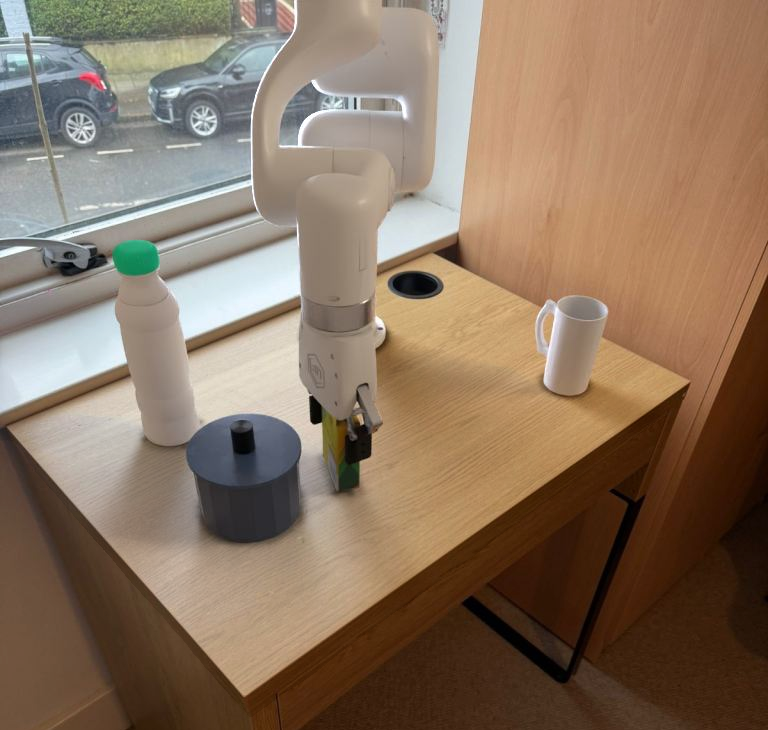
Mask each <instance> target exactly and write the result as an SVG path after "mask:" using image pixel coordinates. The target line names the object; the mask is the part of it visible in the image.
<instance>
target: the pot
mask: <svg viewBox="0 0 768 730" xmlns="http://www.w3.org/2000/svg"><path fill="white" fill-rule="evenodd" d="M192 473H193V472H192ZM193 478H194V479H193V480H194V483H195V489H196V495H197V499H198V504H199V509H200V514H201V515H202V519H203V522H204V524H205V526H206V527H207V528H208V529H209V530H210V531H211V532H212V533H213V534H214V535H216V536H218V537H220V538H221V539H224V540H226V541H231V542H234V543H245V544H248V543H258V542H259V543H260V542H264V541H267V540H271V539H274V538H276V537H277V536H280V535H282V534H284V533H285V532H286V531H287V530H289V529H290V528H291V527H292V526H293V525H294V524H295V523H296V522H297V519H298V517H299V516H300V513H301V508H302V493H301V491H302V490H301V477H300V460H299V461H298V463H297V465H296V466H295V467H294V468H293V470H292V471H290V472H289V473H288V474H287V475H286V476H284V477H283V478H281V479H279V480H277V481H275V482H273V483H271V484H268V485H265V486H262V487H257V488H251V489H226V488H221V487H217V486H213V485H211V484H208V483H206V482H204V481H202V480H201V479H199V478H198V477H197V476H196V475H195V474H194V473H193Z"/></svg>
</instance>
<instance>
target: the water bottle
mask: <svg viewBox="0 0 768 730" xmlns="http://www.w3.org/2000/svg"><path fill="white" fill-rule="evenodd" d="M112 262H113V265H114V268H115V270H116V272H117V274H118V275H119V276H120V277H121V282H120V285H119V288H118V294H117V297H116V300H115V304H114V315H115V319H116V321H117V322H118V324H119V330H120V337H121V341H122V347H123V351H124V355H125V360H126V363H127V366H128V371H129V375H130V377H131V381H132V384H133V386H134V390H135V392H134V393H135V400H136V405H137V407H138V409H139V412H140V421H141V425H142V429H143V433H144V436H145V437H146V439H147V440H148V441H150V442H151V443H153V444H155V445H157V446H161V447H175V446H180V445H183V444H186V443H187V442H188V443H189V441H190V439H191V438H192V436H193V435H194V434H195V433H196V432H197V431H198V430H199V429H201V424H200V418H199V417H200V416H199V413H198V409H197V406H196V397H195V396H196V395H195V390H194V386H193V383H192V381H191V372H190V363H189V357H188V351H187V350H188V349H187V344H186V341H185V340H186V339H185V334H184V331H183V327H182V323H181V319H180V317H179V316H180V305H179V302H178V300H177V298H176V296H175V295H174V294H173V292H172V291H171V290H170V288H169V287H168V285H167V284H166V282H165V280H163V279H162V278H161V277H160V276H159V273H158V272H159V271H160V268H161V265H160V263H161V262H160V254H159V250H158V248H157V247H156V245H155V244H154V243H153V242H150V241H148V240H145V239H144V240H143V239H130V240H125V241H123V242H120V243H119V244H117V245H116V246H115V247H113V250H112Z"/></svg>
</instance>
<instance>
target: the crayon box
mask: <svg viewBox="0 0 768 730" xmlns="http://www.w3.org/2000/svg"><path fill="white" fill-rule="evenodd" d="M321 408H322V423H321V432H322V435H321V436H322V457H323V459H324V462H325V464H326V467H327V470H328V472H329V475H330V478H331V480H332V483H333V485H334V488H335V491H336V492H342V491H348V490H353V489H357V488H359V487H360V479H361V478H360V477H361V476H360V475H361V474H360V470H361V466H360V465H361V461H359V462H357V463H354V464H351V465H348V464H347V463H346V462H345V436H346V435H348V431H347V428H346V424H345V421H344V420H337V419H336V418H334V417H333V416H332V415H330V414H329V413H328V412H327V410H326V409H325V408H324V407H323V406H322V405H321ZM352 417H353V421H354V425H355V428H356V427H358V426H360V425H361V422H360V419H359V418H358V415H355V416H352Z"/></svg>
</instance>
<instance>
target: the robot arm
mask: <svg viewBox="0 0 768 730" xmlns="http://www.w3.org/2000/svg"><path fill="white" fill-rule="evenodd" d="M439 75H440V42H439V34H438V30H437V26H436V23H435V21H434V19H433V17H432V16H431V15H430V13H428V12H426V11H425V10H423V9H419V8H415V7H404V6H403V7H401V6H383V0H294V28H293V32H292V33H291V35H290V37H289V38H288V39H287V41H286V42H285V43H284V44H283V45H282V47H281V48H280V49H279V50H278V52H277V53H276V54H275V55H274V57H273V58H272V60H271V62H270V63H269V64H268V66H267V68H266V70H265V71H264V74H263V76H262V78H261V80H260V82H259V85H258V87H257V90H256V93H255V97H254V100H253V105H252V111H251V121H250V153H251V154H250V155H251V157H250V158H251V159H250V160H251V162H250V163H251V187H252V196H253V202H254V206H255V208H256V212H257V213H258V214H259V217H261V219H262V220H264V221H265V222H266V223H268V224H270V225H273V226H276V227H287V228H296V234H297V235H296V237H297V253H298V254H297V255H298V274H299V275H298V276H299V291H300V293H299V294H300V317H299V327H298V375H299V379H300V382H301V384H302V385H303V386H304V387H305V389H306V390H307V393H308V395H309V396H308V405H309V422H310V423H311V424H312V425H313V426H315V425H319V424H322V408H321V405H322V406H323V407H324V408H325V409H326V410H327V412H328V413H329V414H330V415H332V416H333V417H334V418H336V419H337V420H344V421H345V424H346V428H347V431H348V435H346V436H345V462H346V463H347V464H348V465H351V464H354V463H357V462H359V461H360V462H361V461H364V460H367V459H370V458H371V457H372V452H373V451H372V449H373V434H375V433H376V432H378V431H379V429H380V428H381V427H382V426H383V424H384V421H383V420H384V419H383V418H382V416H381V414H380V411H379V409H378V407H377V405H376V401H377V390H378V377H377V376H378V375H377V356H376V355H377V353H376V349H377V348H379V347H380V346H381V345H382V344H383V343H384V341H385V339H386V335H387V334H386V331H387V328H386V325H385V323H384V321H383V320H382V319H381V318H380V317H378V316H377V287H378V286H377V284H378V282H377V281H378V280H377V279H378V244H379V243H378V239H379V238H378V236H379V228H380V227H381V226H382V224H383V222H384V220H385V219H386V217H387V215H388V212H391V211H392V209H393V206H394V202H395V194H396V193H405V194H406V193H417V192H420V191H423V190H424V189H426V188H428V186H429V184H430V183H431V181H432V177H433V174H434V168H435V160H436V159H435V158H436V146H437V145H436V142H437V123H438V122H437V121H438V120H437V119H438V101H439V100H438V97H439V77H440V76H439ZM310 83H312V85H313V86H314V88H315V89H316V90H317V91H318V92H320V93H322V94H324V95H327V96H330V97H331V96H332V97H341V98H357V99H359V98H360V99H361V98H362V99H363V98H365V99H393V100H395V101H397V102H398V103H399V104H400V105H401V108H402V109H401V110H370V109H350V108H349V109H347V108H345V109H343V108H342V109H341V108H339V109H338V108H337V109H335V108H334V109H325V110H320V111H316V112H315V113H312V114H311V115H309V116H308V117H306V118H305V119H304V121H303V122H302V123H301V126H300V129H299V132H298V140H297V141H298V143H297V145H281V144H280V133H281V132H280V130H281V124H282V123H281V122H282V119H283V116H284V113H285V110H286V109H287V106H288V105H289V103H290V101H291V99H293V98H294V97H295V96H296V94H298V92H300V91H301V90H302V89H303V88H304V87H306V86H307V85H308V84H310ZM357 404H358V407H356V405H357ZM355 415H357V416H358V415H361V418H362V420H363V424H360V426H358V427H356V428H355V425H354V421H353V417H352V416H355Z"/></svg>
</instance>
